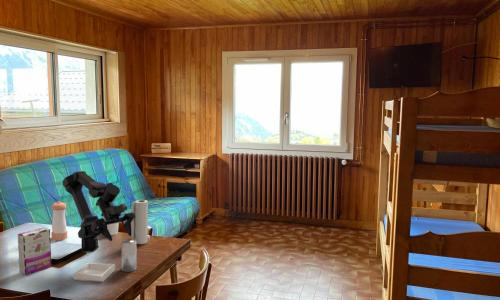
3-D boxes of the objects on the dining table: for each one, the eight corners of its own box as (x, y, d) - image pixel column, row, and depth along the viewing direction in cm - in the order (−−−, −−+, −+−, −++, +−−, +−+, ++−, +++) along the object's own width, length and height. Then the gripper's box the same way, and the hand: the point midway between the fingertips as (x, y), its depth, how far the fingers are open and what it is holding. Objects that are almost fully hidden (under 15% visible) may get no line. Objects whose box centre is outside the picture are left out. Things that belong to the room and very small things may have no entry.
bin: (73, 280, 155) (73, 273, 155) (88, 268, 166) (88, 262, 166) (102, 282, 154) (102, 275, 154) (114, 270, 165) (114, 264, 165)
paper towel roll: (148, 240, 203) (149, 199, 200) (146, 244, 196) (146, 202, 194) (134, 240, 202) (134, 199, 200) (131, 244, 196) (131, 202, 194)
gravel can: (119, 271, 164) (119, 243, 163) (125, 265, 170) (124, 238, 169) (133, 272, 164) (133, 243, 163) (138, 266, 170) (138, 239, 169)
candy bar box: (45, 264, 169) (44, 226, 168) (51, 266, 167) (51, 228, 165) (18, 272, 160) (17, 233, 158) (25, 275, 157) (23, 235, 155)
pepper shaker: (70, 237, 203) (69, 201, 201) (56, 241, 197) (56, 203, 195) (61, 235, 207) (61, 199, 205) (48, 238, 201) (47, 201, 199)
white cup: (104, 236, 207) (104, 217, 206) (102, 232, 214) (102, 214, 213) (120, 234, 210) (120, 216, 209) (117, 230, 217) (117, 212, 216)
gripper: (94, 201, 164) (108, 232, 158) (133, 194, 178) (147, 223, 172) (84, 216, 170) (98, 247, 164) (123, 208, 184) (137, 236, 178)
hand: (121, 238), depth 170 cm, fingers open, 9 cm apart
